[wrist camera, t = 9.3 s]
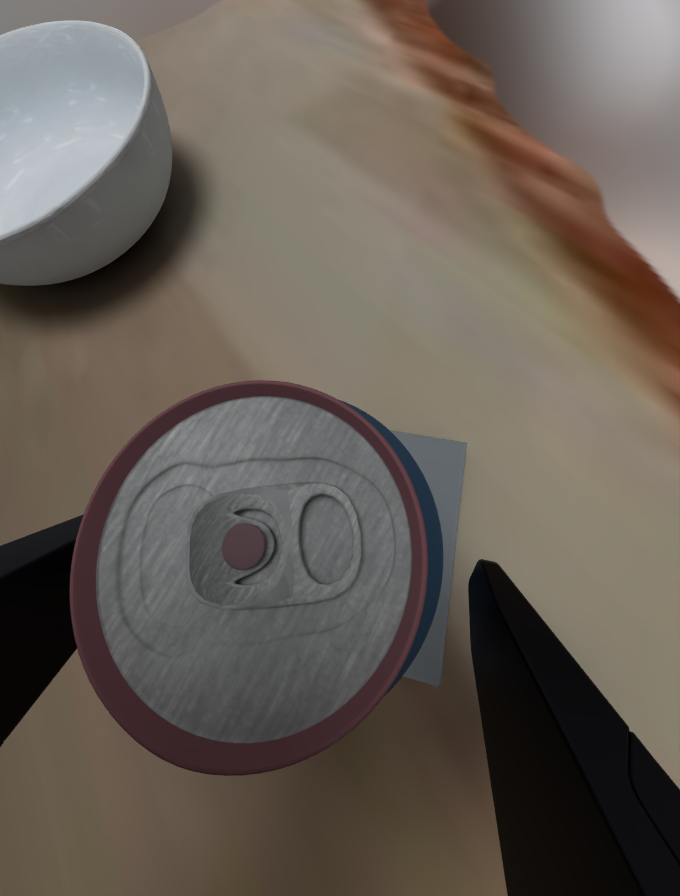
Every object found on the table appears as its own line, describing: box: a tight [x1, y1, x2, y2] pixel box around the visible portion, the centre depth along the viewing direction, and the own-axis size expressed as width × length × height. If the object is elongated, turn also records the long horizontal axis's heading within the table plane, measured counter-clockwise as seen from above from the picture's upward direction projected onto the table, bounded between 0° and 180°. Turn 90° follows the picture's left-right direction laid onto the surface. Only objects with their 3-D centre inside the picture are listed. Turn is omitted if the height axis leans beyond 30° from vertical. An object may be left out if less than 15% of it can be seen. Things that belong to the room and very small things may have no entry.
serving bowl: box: [0, 21, 172, 286], centre depth 23 cm, size 21×21×7 cm
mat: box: [389, 430, 467, 687], centre depth 17 cm, size 12×12×1 cm
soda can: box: [70, 380, 443, 776], centre depth 10 cm, size 7×7×12 cm
